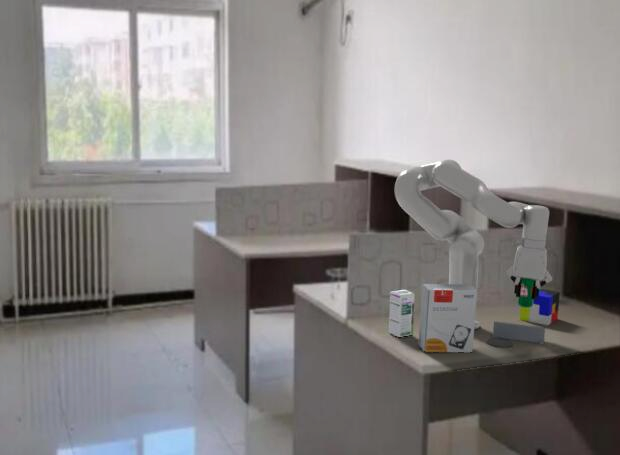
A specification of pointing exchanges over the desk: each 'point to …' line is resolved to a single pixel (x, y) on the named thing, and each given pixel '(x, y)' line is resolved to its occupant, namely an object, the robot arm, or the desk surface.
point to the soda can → (526, 292)
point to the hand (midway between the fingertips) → (526, 296)
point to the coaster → (499, 342)
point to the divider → (519, 332)
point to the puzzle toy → (542, 308)
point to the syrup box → (401, 312)
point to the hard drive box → (447, 317)
